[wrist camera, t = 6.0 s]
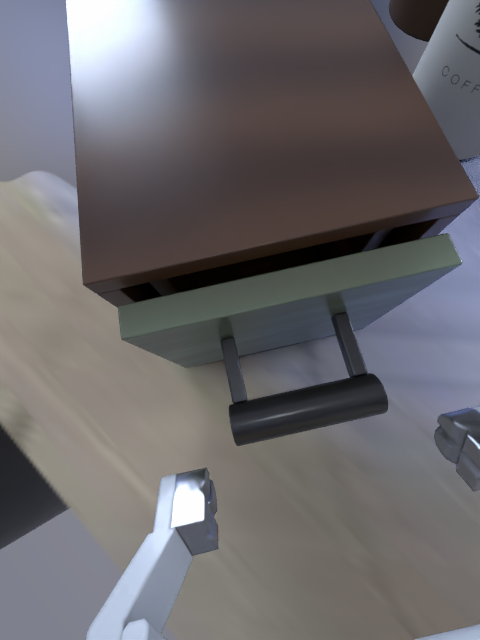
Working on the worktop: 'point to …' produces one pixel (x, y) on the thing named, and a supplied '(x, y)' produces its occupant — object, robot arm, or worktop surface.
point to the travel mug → (454, 76)
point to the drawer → (288, 322)
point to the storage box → (245, 136)
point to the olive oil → (417, 16)
